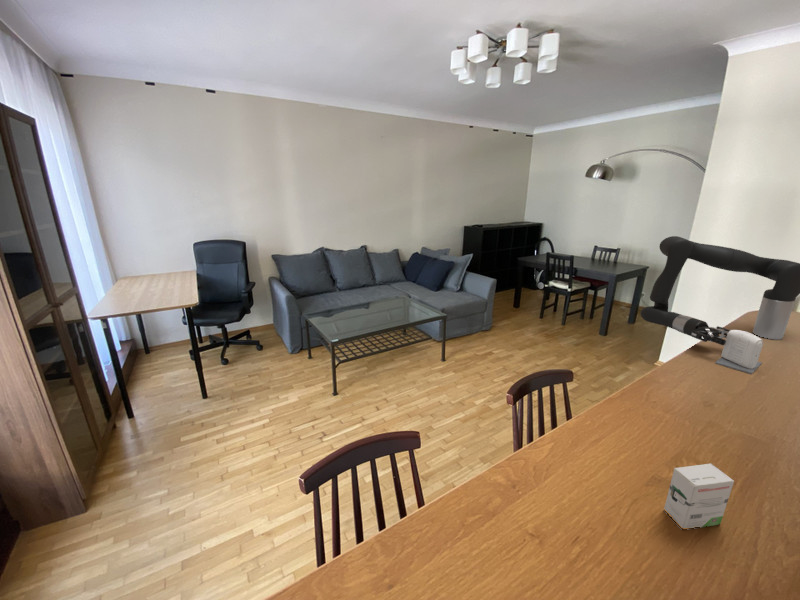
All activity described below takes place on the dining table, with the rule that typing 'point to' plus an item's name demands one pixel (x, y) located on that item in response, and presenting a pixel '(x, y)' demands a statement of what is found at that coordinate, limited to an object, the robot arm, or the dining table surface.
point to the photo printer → (742, 348)
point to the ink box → (698, 495)
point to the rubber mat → (736, 365)
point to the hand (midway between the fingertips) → (733, 341)
